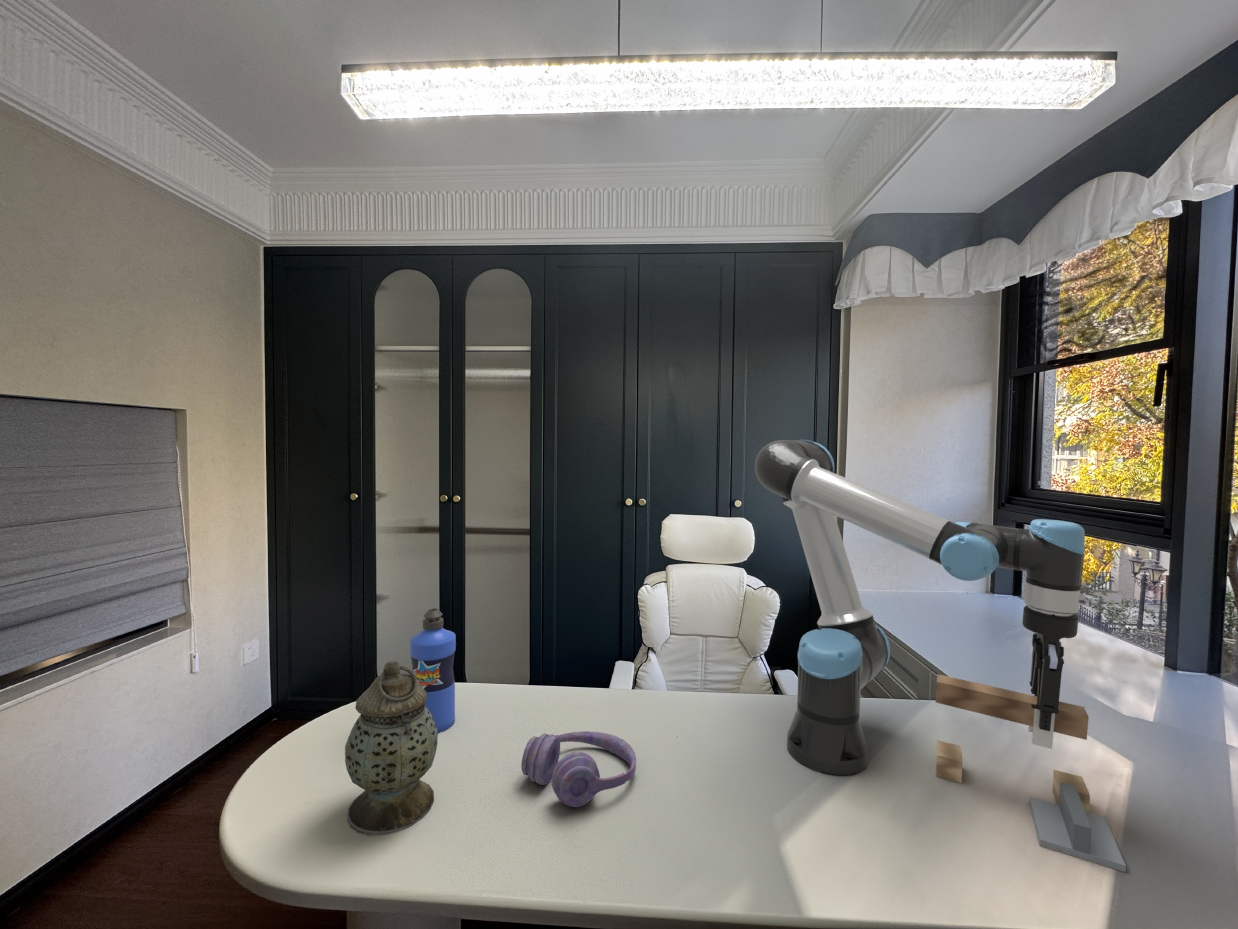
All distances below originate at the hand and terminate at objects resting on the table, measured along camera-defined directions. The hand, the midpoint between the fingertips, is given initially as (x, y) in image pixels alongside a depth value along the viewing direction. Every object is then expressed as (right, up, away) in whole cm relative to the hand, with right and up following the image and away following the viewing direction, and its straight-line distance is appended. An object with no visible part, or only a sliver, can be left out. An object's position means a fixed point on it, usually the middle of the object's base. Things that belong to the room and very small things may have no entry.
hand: (1039, 738), depth 96 cm
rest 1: (-12, -10, +7) cm, 17 cm away
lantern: (-112, -9, -5) cm, 113 cm away
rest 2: (+4, -10, -2) cm, 11 cm away
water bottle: (-115, -8, +22) cm, 117 cm away
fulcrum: (-2, -11, -9) cm, 14 cm away
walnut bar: (-4, +3, +3) cm, 6 cm away
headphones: (-81, -9, +4) cm, 82 cm away
